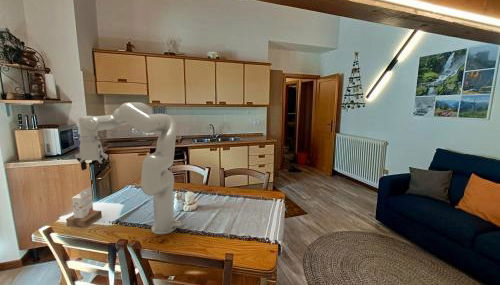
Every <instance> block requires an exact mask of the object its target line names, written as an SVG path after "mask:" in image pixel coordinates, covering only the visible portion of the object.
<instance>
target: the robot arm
mask: <svg viewBox="0 0 500 285" xmlns="http://www.w3.org/2000/svg"><path fill="white" fill-rule="evenodd" d="M150 111H151V110H150V108H149V106H148V105H147V104H146V103H143V102H135V101H134V102H124V103H122V104H121V105H120V106H119V107H117V108H116V109H115V110H114V112H113V114H108V115H107V114H106V115H81V116H79V117H78V124H79V133H80V144H79V152H78V153H76V154H75V155H74V157H75V159H76V160H77V161H78V163H79V164H80V168H81V171H85V170H87V169H88V168H87V167H88V166H87V162H86V161H98V163H99V164H98V166H99V167H98V168H99V169H98V170H99V171H104V170H105V162H106V161H107V160H108V157H109V154H107V153H105V152H104V150H103V145H102V142H101V141H100V140H101V137H100V136H99V135H98V131H106V130H112V129H115V128H116V129H117V128H119V127H122V126H125V125H128V124H129V125H130V126H132V127H133V128H135V129H137V130H138V131H140V132H142V133H143V134H153V133H159V132H160V133H159V134H158V135H159V136H158V138H157V141H156V147H155V151H154V152H153V153H150V154H148V155H147V156H145V158H144V159H143V162H142V165H141V176H140V178H141V179H140V186H141V187H140V188H141V190H142V192H143V194H144V195H146V196H148V197H149V196H150V197H152V198H153V200H152V201H153V219H154V224H153V225H151V232H152V233H153V234H155V235H166V234H168V235H169V234H170V233H173V232H174V231H176V229H177V228H181V227H182V225H183V224H182V223H181V222H182V221H181V220H176V217H175V216H174V186H175V175H174V174H173V172H172V171H171V170H169V168H171V167H172V166H173V164H174V160H175V159H174V158H175V150H176V149H175V148H176V139H177V134H178V128H177V123H176V121H175V120H174V118H172V116H171V115H168V114H165V113H152V114H150Z"/></svg>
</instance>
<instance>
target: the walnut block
mask: <svg viewBox="0 0 500 285" xmlns="http://www.w3.org/2000/svg"><path fill="white" fill-rule="evenodd" d="M102 218H103V215H102V210H94V209H93V212H91V213H90V214H88V215H87V216H86V217H84V218H83V219H82V218H74V214H72V215H71V216H69V217H67V218H66V219H65V220H66V226H67V227H75V228H83V229H87V228H88V227H90V226H91V225H93V224H94V223H96V222H98V221H99V220H100V219H102Z"/></svg>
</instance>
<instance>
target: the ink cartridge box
mask: <svg viewBox="0 0 500 285" xmlns="http://www.w3.org/2000/svg"><path fill="white" fill-rule="evenodd" d="M71 201H72V210H73V215H74V218H82V219H83V218H84V217H86V216H87V215H88V214H90V213H91V212H93V210H94V206H93V192H92V187H91V186H89V187H87V188H86V189H83V190H82V191H80V192H79V193H78V194H76V195H75V196H73V197H71Z"/></svg>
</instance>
